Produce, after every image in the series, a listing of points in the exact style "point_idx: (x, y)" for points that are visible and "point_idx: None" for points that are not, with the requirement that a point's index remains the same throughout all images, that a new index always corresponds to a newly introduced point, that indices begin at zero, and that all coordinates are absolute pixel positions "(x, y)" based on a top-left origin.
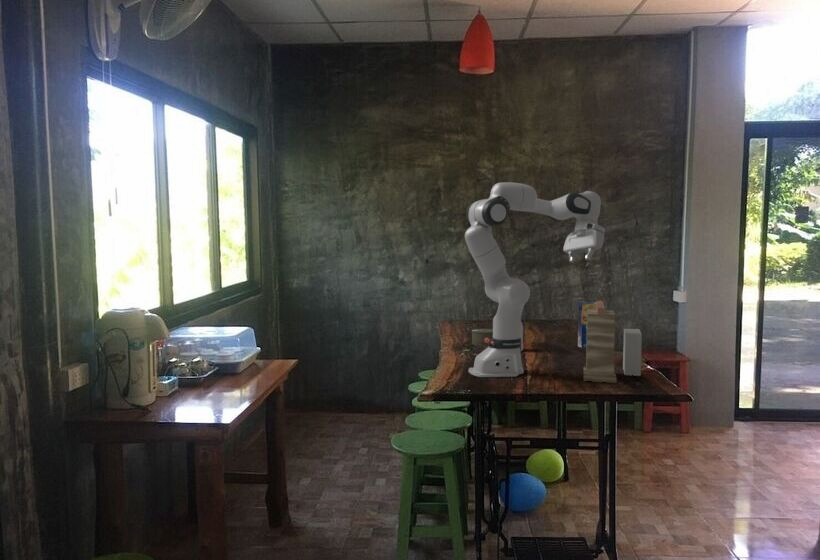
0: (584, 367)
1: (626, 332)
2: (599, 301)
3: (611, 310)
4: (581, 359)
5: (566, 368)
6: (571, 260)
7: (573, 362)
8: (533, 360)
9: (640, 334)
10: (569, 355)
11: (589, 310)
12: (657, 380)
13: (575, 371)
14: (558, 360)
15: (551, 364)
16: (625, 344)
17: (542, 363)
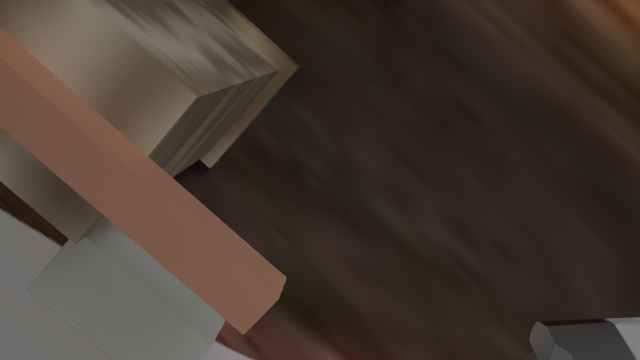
0: (278, 57)
1: (92, 249)
2: (220, 280)
3: (42, 201)
4: (505, 243)
5: (387, 38)
6: (558, 326)
7: (473, 162)
8: (627, 13)
9: (34, 283)
10: (612, 261)
11: (108, 44)
12: None
13: (316, 32)
14: (550, 130)
15: (496, 33)
16: None
17: (540, 7)
